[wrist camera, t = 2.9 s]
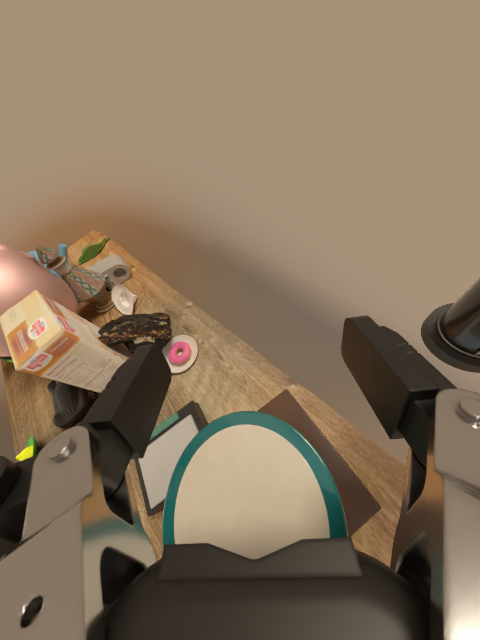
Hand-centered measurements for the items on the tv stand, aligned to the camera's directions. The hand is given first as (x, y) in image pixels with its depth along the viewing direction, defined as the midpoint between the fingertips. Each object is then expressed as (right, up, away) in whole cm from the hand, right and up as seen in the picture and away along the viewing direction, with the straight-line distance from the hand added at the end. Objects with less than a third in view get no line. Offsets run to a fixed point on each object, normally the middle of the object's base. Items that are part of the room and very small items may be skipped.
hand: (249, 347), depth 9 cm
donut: (-14, -6, +36) cm, 39 cm away
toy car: (-37, -15, +37) cm, 54 cm away
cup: (+2, -10, +6) cm, 12 cm away
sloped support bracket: (-45, +15, +55) cm, 73 cm away
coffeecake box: (-27, -9, +37) cm, 47 cm away
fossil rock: (-25, -5, +29) cm, 39 cm away
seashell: (-28, +4, +48) cm, 55 cm away
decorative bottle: (-39, +6, +51) cm, 64 cm away
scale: (-10, -21, +25) cm, 34 cm away
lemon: (-39, -25, +30) cm, 55 cm away
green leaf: (-57, +28, +71) cm, 95 cm away
